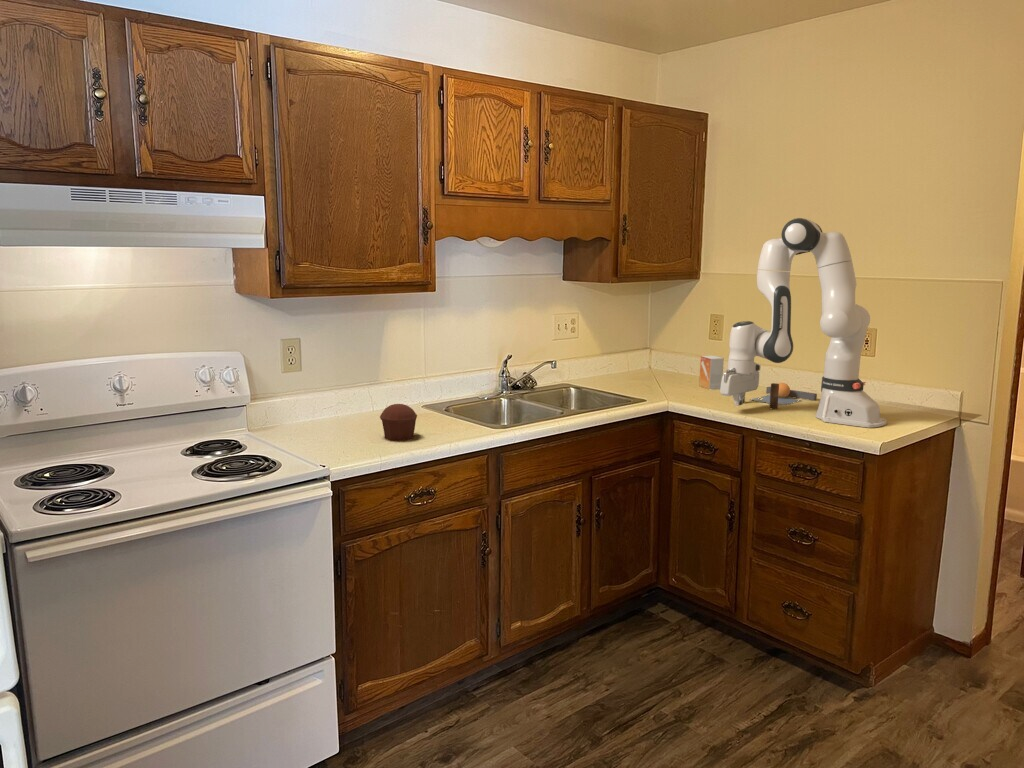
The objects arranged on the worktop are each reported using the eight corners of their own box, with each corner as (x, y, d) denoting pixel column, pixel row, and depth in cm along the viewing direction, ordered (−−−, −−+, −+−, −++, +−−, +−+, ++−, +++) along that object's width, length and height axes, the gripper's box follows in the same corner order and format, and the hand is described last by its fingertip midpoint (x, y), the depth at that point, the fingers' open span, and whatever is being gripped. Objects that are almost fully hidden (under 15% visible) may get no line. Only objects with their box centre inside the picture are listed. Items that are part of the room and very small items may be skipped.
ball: (794, 391, 303) (790, 380, 299) (787, 402, 300) (782, 392, 297) (781, 388, 307) (776, 378, 304) (773, 399, 305) (768, 389, 302)
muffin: (423, 439, 235) (423, 406, 233) (388, 443, 229) (388, 410, 227) (408, 431, 245) (407, 399, 243) (374, 435, 239) (374, 403, 237)
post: (778, 408, 283) (780, 384, 282) (775, 409, 281) (776, 384, 280) (771, 407, 285) (773, 383, 284) (767, 408, 283) (769, 383, 282)
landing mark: (801, 400, 297) (801, 400, 297) (783, 405, 288) (783, 405, 288) (768, 395, 307) (768, 395, 307) (749, 400, 298) (749, 399, 298)
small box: (698, 386, 327) (700, 355, 324) (712, 385, 329) (713, 355, 326) (709, 389, 319) (710, 358, 317) (722, 389, 321) (724, 357, 319)
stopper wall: (816, 400, 299) (817, 393, 299) (814, 400, 298) (814, 394, 297) (768, 392, 313) (769, 386, 313) (766, 393, 312) (766, 387, 312)
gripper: (732, 371, 267) (730, 410, 270) (763, 365, 281) (760, 402, 284) (716, 369, 272) (714, 407, 274) (747, 363, 286) (745, 400, 288)
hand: (738, 405), depth 279 cm, fingers closed
